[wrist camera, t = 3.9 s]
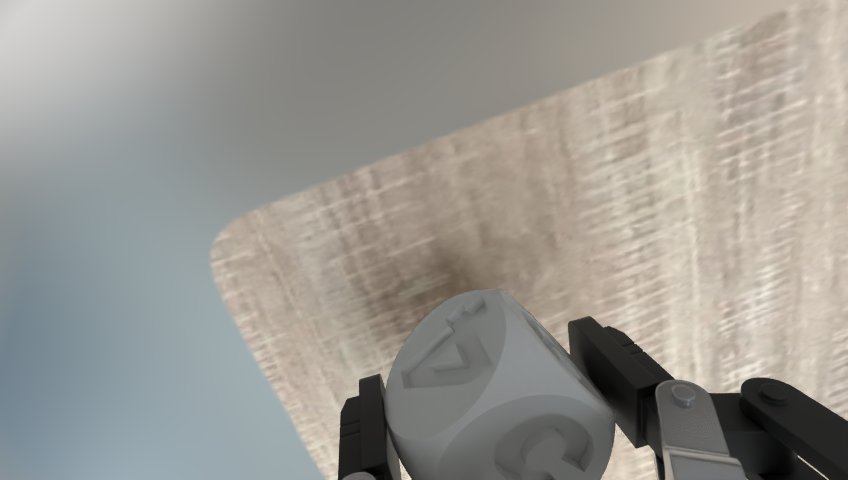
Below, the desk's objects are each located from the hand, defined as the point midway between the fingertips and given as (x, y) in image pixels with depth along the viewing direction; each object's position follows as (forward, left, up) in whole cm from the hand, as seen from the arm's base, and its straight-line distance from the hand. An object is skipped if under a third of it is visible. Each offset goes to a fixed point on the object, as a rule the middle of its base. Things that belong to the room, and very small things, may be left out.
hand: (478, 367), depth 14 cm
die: (0, 0, -1) cm, 1 cm away
